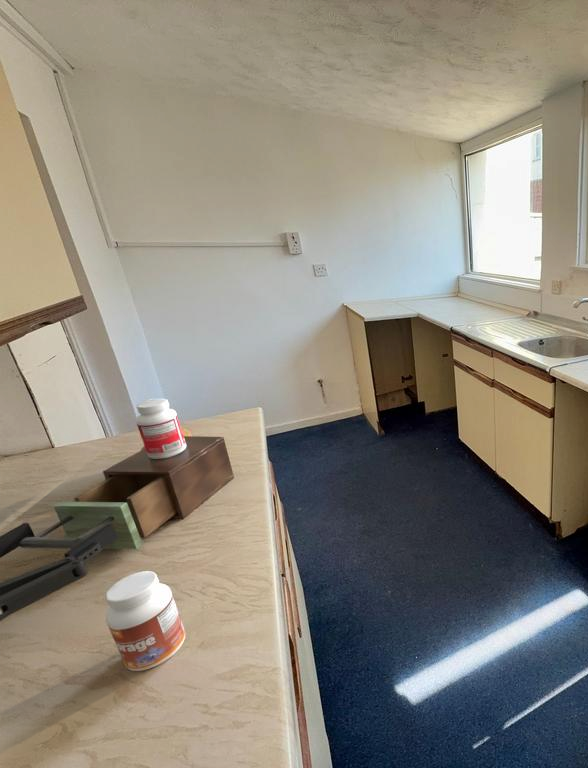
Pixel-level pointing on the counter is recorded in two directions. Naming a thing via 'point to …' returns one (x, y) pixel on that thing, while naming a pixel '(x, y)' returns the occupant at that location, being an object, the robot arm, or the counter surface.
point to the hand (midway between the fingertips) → (71, 530)
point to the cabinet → (185, 471)
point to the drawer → (111, 512)
